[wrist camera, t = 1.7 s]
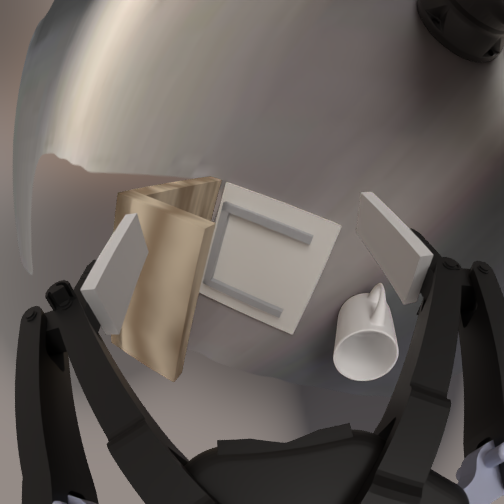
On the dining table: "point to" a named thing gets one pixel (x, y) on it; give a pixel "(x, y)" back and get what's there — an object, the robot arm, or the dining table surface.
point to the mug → (365, 337)
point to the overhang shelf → (167, 269)
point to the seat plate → (266, 257)
